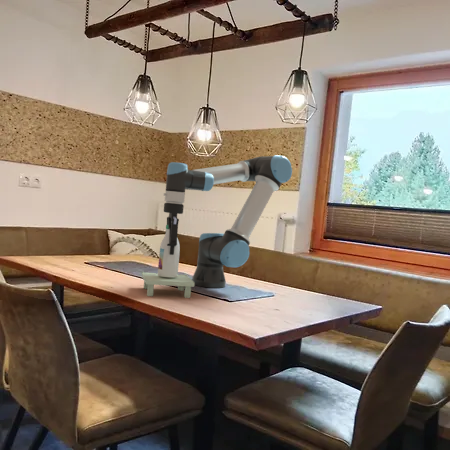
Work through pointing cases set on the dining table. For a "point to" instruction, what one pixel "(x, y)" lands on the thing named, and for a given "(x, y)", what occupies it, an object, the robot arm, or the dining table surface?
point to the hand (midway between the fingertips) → (168, 261)
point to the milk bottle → (164, 267)
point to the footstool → (167, 282)
